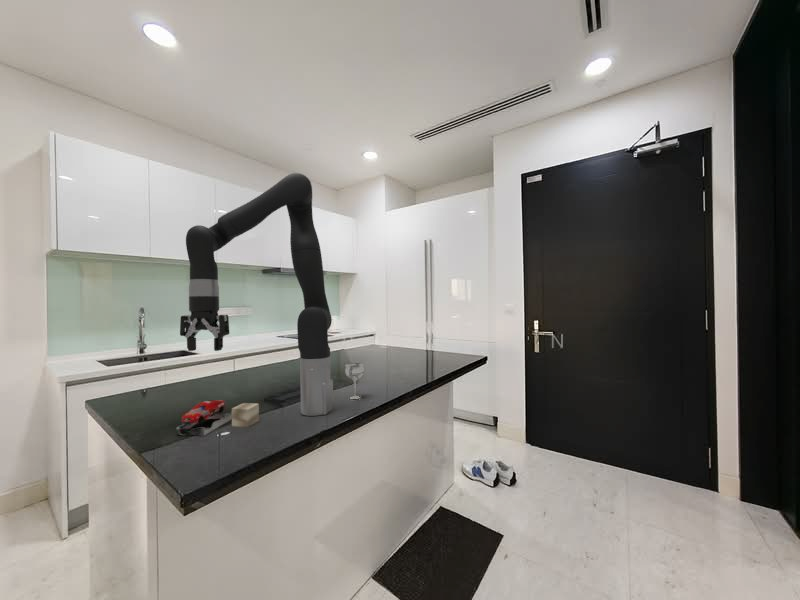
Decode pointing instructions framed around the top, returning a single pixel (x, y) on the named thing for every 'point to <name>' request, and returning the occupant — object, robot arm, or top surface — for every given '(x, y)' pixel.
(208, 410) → the race car
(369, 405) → the top surface
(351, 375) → the wineglass
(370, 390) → the top surface
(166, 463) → the top surface
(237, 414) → the birch block
